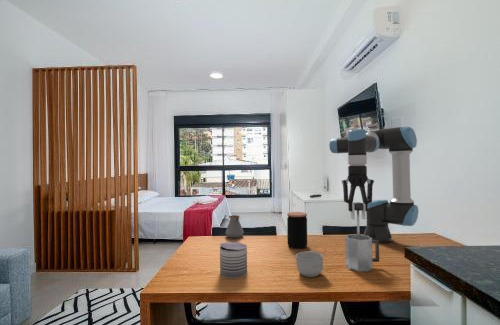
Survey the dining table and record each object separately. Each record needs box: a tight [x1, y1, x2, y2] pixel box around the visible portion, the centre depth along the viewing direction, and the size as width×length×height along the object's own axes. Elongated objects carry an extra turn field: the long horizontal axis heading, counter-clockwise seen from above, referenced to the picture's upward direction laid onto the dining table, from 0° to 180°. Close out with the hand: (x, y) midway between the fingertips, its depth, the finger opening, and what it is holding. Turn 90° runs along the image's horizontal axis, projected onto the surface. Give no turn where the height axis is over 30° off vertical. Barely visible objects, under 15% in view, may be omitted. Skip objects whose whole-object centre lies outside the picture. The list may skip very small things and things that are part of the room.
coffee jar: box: [286, 211, 308, 250], centre depth 153 cm, size 11×11×18 cm
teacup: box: [295, 250, 324, 278], centre depth 116 cm, size 14×11×8 cm
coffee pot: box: [224, 214, 245, 239], centre depth 171 cm, size 21×12×15 cm, turn 12°
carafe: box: [344, 233, 380, 273], centre depth 122 cm, size 14×10×13 cm
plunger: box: [352, 201, 363, 240], centre depth 122 cm, size 8×8×20 cm
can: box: [219, 241, 248, 279], centre depth 117 cm, size 11×11×12 cm
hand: (358, 218), depth 122 cm, fingers closed on plunger, 4 cm apart
